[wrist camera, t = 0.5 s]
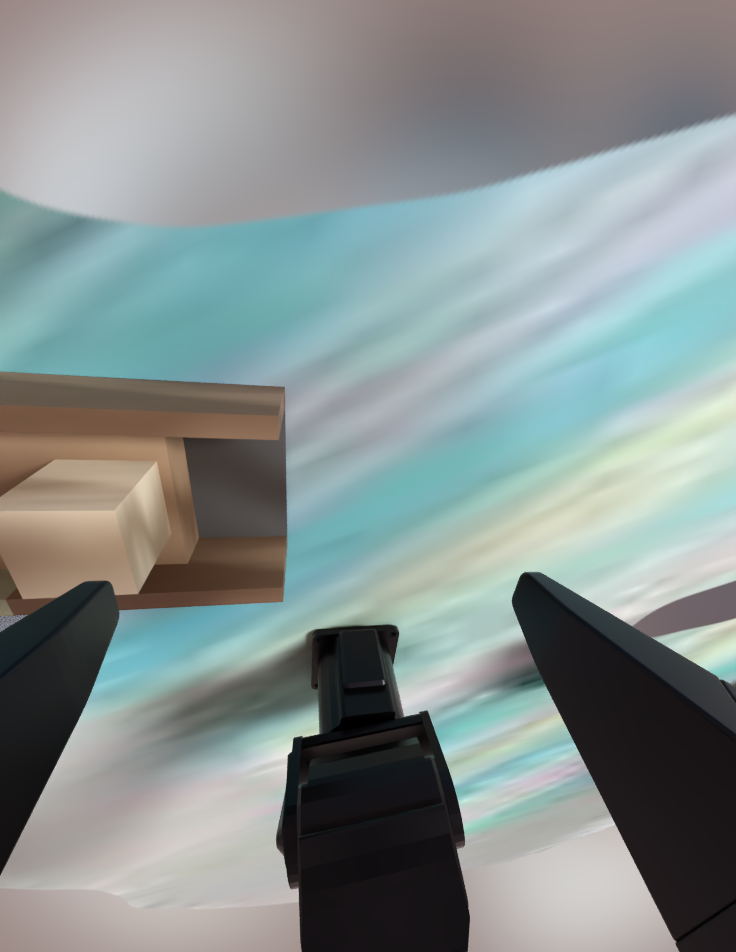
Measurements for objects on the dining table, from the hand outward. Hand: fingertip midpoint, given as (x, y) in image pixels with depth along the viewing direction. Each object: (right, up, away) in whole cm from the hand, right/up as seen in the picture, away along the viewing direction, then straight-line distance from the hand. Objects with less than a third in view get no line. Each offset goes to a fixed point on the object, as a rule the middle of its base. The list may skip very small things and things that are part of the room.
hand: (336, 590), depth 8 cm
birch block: (-11, +2, +9) cm, 14 cm away
